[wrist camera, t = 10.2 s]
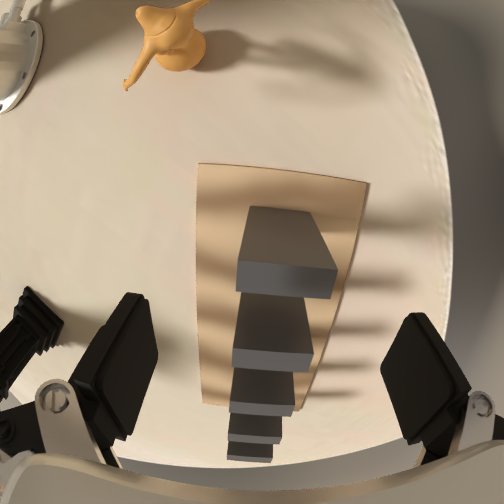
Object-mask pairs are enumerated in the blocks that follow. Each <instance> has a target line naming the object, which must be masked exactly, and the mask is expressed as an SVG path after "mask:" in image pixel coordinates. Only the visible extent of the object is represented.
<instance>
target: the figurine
mask: <svg viewBox="0 0 504 504" xmlns="http://www.w3.org/2000/svg"><path fill="white" fill-rule="evenodd" d="M210 1H211V0H192V1H190V2H188V3H186V4H183V5H181V6H178V7H174V8H170V9H165V8H159V7H155V6H149V5H146V6H141V7H139V8H138V9H137V10H136V18H137V20H138V21H139V23H140V24H141V26H142V27H143V29H144V31H145V34H144V46H143V49H142V52H141V55H140V57H139V58H138V60H137V62H136V64H135V66H134V68H133V70H132V73H131V75H130V76H129V78H128V79H127V80H126V81H125V79H124V82H123V88H124V90H125V91H128V88H129V87H130V86H132V85H133V84H134V83H135V82H136V81H137V80H138V79H139V77H140V76H141V75H142V73H143V72H144V70H145V69H146V67H147V65H148V64H149V62H150V61H151V59H152V58H153V56H155V59H156V61H157V62H158V64H159V65H160V66H162V67H163V68H165V69H167V70H170V71H184V70H188V69H190V68H192V67H194V66H195V65H197V64H198V63H199V62H200V61H201V59H202V58H203V56H204V54H205V50H206V42H205V39H204V37H203V35H202V34H201V33H200V32H199V31H198V30H197V29H195V28H194V25H193V24H194V23H193V15H194V13H195V12H196V11H197V10H198V9H199V8H201V7H203V6H204V5H205V4H207V3H208V2H210Z"/></svg>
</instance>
